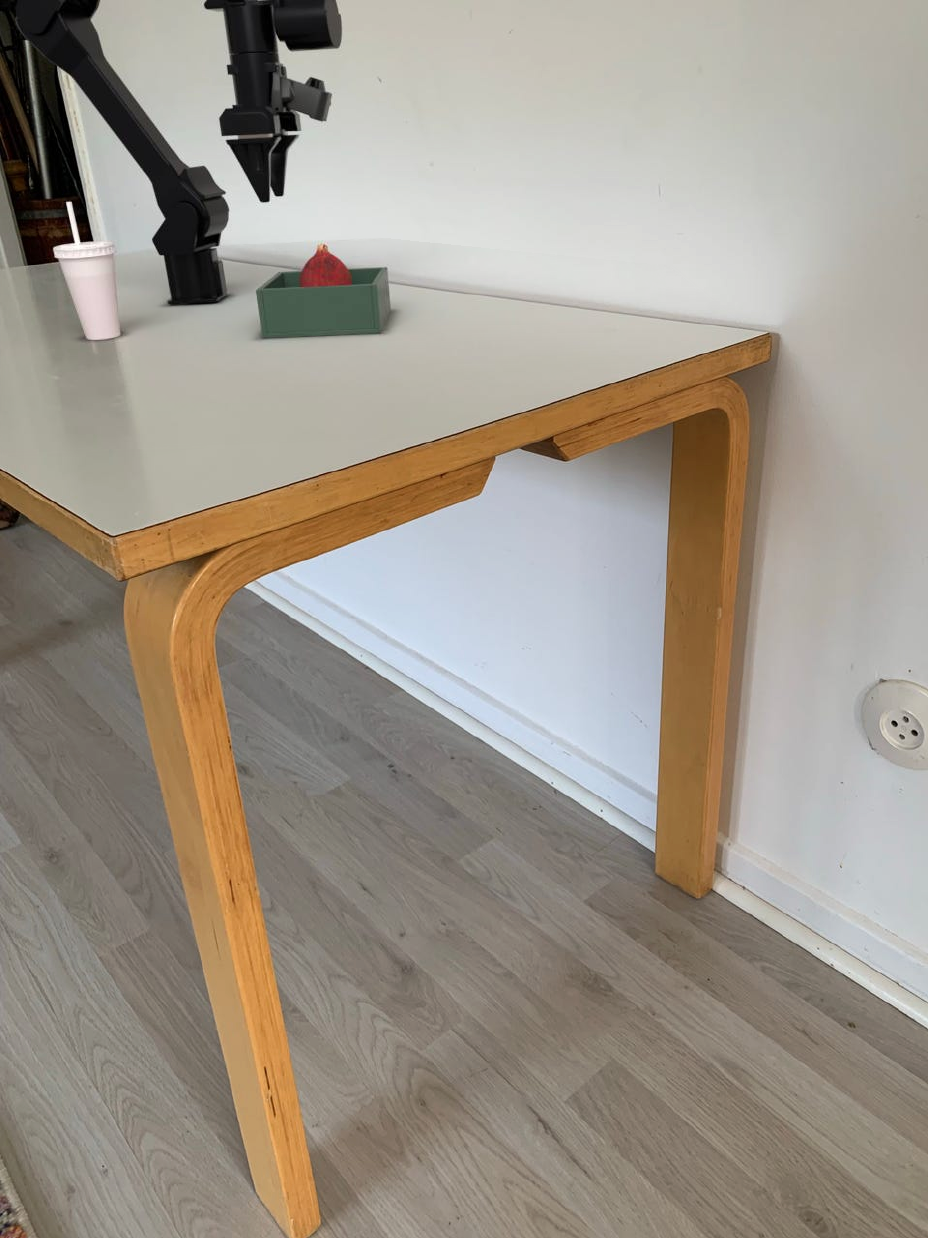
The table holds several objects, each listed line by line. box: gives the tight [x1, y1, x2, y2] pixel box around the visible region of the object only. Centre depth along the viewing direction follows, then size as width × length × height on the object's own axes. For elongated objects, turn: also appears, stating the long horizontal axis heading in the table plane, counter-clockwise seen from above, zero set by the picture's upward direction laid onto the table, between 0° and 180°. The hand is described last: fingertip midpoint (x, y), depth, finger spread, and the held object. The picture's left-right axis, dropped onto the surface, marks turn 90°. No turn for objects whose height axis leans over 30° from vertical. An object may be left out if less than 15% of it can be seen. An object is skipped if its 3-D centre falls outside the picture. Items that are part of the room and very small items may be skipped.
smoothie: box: [52, 201, 122, 341], centre depth 104 cm, size 6×6×14 cm
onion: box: [300, 242, 352, 287], centre depth 106 cm, size 6×6×8 cm
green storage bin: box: [255, 266, 392, 339], centre depth 107 cm, size 13×13×5 cm
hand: (272, 199), depth 119 cm, fingers open, 9 cm apart
